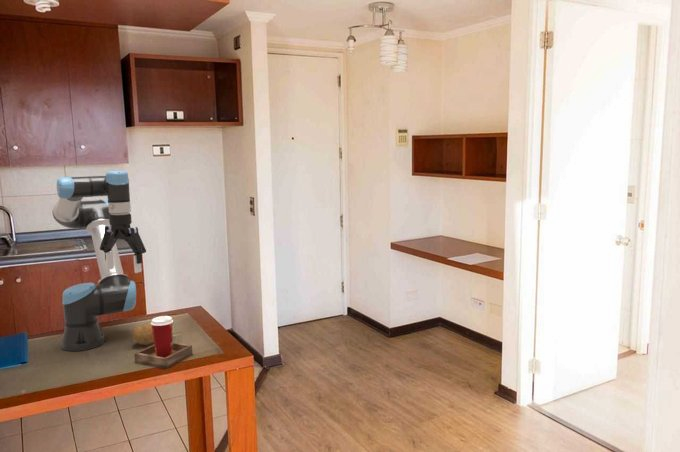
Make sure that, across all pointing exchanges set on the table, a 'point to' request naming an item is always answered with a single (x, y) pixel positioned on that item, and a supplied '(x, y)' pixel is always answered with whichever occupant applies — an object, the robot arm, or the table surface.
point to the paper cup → (162, 335)
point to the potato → (143, 334)
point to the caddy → (150, 358)
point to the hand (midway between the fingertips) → (124, 270)
